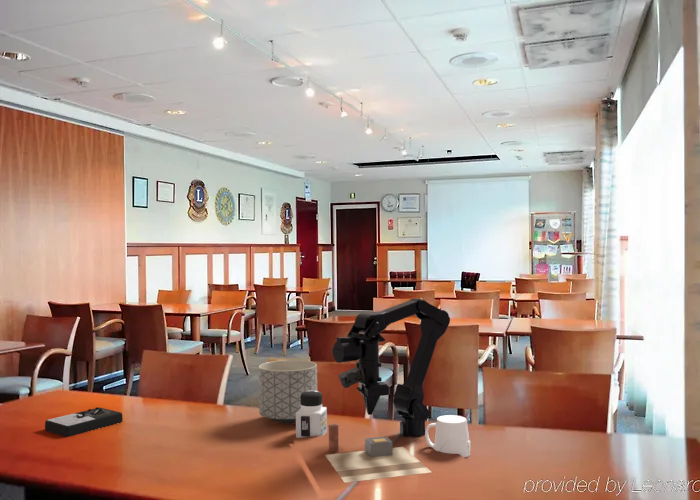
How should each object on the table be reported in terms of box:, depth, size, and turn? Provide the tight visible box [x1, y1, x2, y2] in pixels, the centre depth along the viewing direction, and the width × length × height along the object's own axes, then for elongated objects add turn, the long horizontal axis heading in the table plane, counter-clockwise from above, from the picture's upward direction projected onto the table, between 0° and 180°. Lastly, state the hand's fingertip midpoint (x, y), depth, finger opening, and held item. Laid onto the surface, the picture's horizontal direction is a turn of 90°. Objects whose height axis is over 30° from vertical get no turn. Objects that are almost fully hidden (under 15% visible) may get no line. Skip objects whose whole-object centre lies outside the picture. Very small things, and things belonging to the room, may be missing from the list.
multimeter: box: [44, 407, 123, 438], centre depth 192 cm, size 13×19×5 cm
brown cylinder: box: [328, 423, 340, 454], centre depth 161 cm, size 3×3×8 cm
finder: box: [364, 435, 393, 457], centre depth 159 cm, size 6×5×4 cm
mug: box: [424, 414, 471, 458], centre depth 162 cm, size 12×9×8 cm
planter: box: [258, 359, 318, 425], centre depth 196 cm, size 19×19×18 cm
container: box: [295, 390, 328, 439], centre depth 180 cm, size 8×8×13 cm
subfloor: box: [324, 446, 432, 484], centre depth 151 cm, size 22×20×1 cm
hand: (369, 414), depth 167 cm, fingers closed
